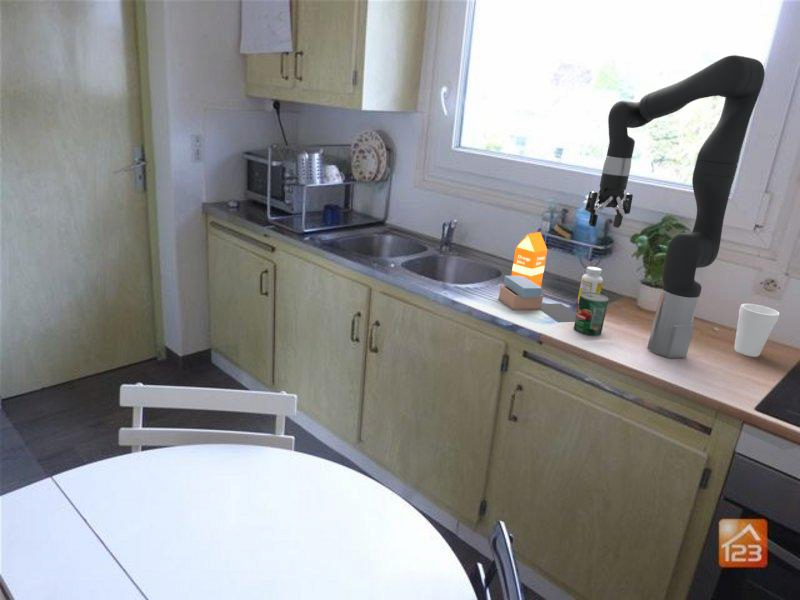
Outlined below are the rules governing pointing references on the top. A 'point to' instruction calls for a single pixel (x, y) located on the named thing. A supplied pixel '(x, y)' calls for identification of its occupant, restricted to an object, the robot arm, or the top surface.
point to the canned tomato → (590, 313)
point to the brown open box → (519, 300)
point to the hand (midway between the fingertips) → (604, 226)
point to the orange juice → (530, 258)
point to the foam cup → (754, 328)
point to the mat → (559, 312)
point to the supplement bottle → (591, 281)
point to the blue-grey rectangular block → (522, 286)
